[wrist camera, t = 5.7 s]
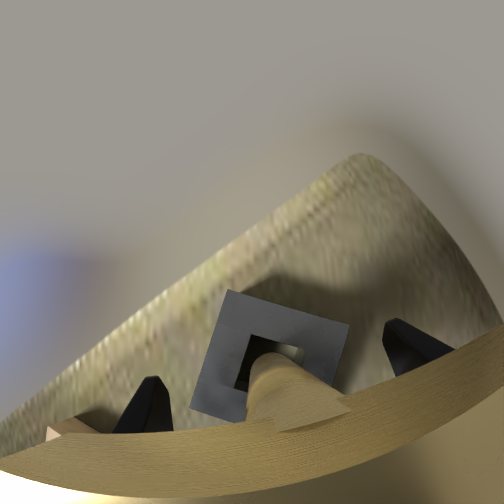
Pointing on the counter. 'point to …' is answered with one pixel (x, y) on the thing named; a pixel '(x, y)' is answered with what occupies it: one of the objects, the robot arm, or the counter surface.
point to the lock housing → (267, 326)
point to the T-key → (299, 444)
